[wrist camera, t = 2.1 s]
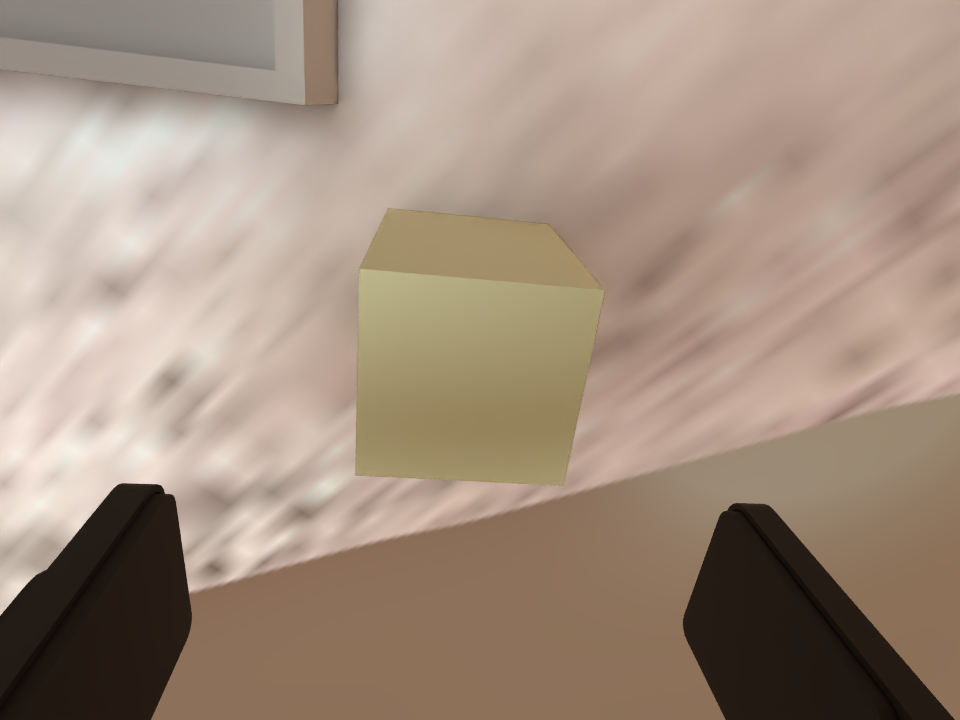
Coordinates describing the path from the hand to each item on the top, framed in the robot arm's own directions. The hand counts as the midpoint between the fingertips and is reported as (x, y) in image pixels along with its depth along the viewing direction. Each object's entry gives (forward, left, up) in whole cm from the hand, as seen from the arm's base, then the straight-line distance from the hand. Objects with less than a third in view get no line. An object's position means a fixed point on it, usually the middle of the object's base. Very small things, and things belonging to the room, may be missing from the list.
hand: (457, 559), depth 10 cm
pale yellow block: (-1, 0, -14) cm, 14 cm away
